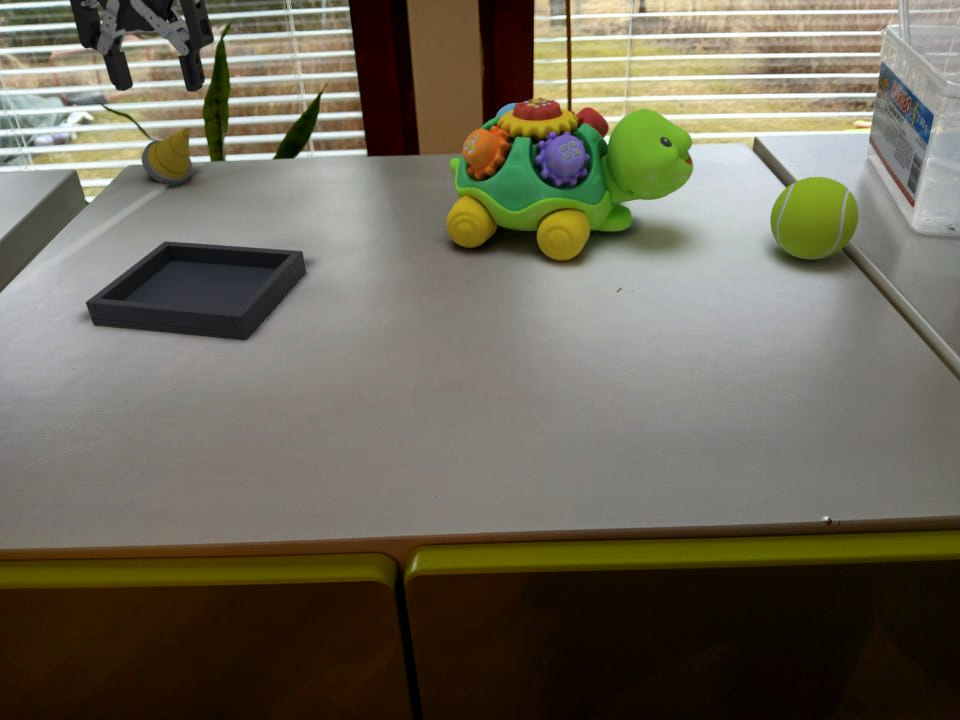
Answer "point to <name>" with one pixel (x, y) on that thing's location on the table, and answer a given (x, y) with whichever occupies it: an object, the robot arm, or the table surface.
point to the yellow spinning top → (169, 159)
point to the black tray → (199, 289)
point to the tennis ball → (814, 218)
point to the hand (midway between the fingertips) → (159, 89)
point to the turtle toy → (562, 173)
